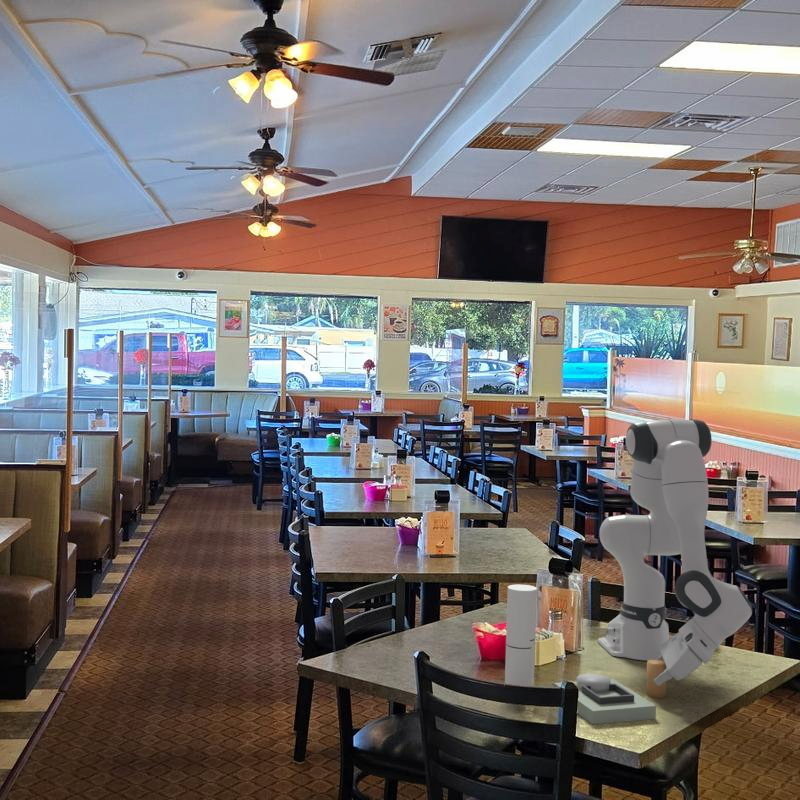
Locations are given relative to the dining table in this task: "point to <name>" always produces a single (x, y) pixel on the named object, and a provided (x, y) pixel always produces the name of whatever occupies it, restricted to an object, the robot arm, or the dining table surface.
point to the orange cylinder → (652, 671)
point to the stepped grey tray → (610, 701)
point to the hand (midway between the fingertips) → (653, 676)
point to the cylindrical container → (520, 635)
